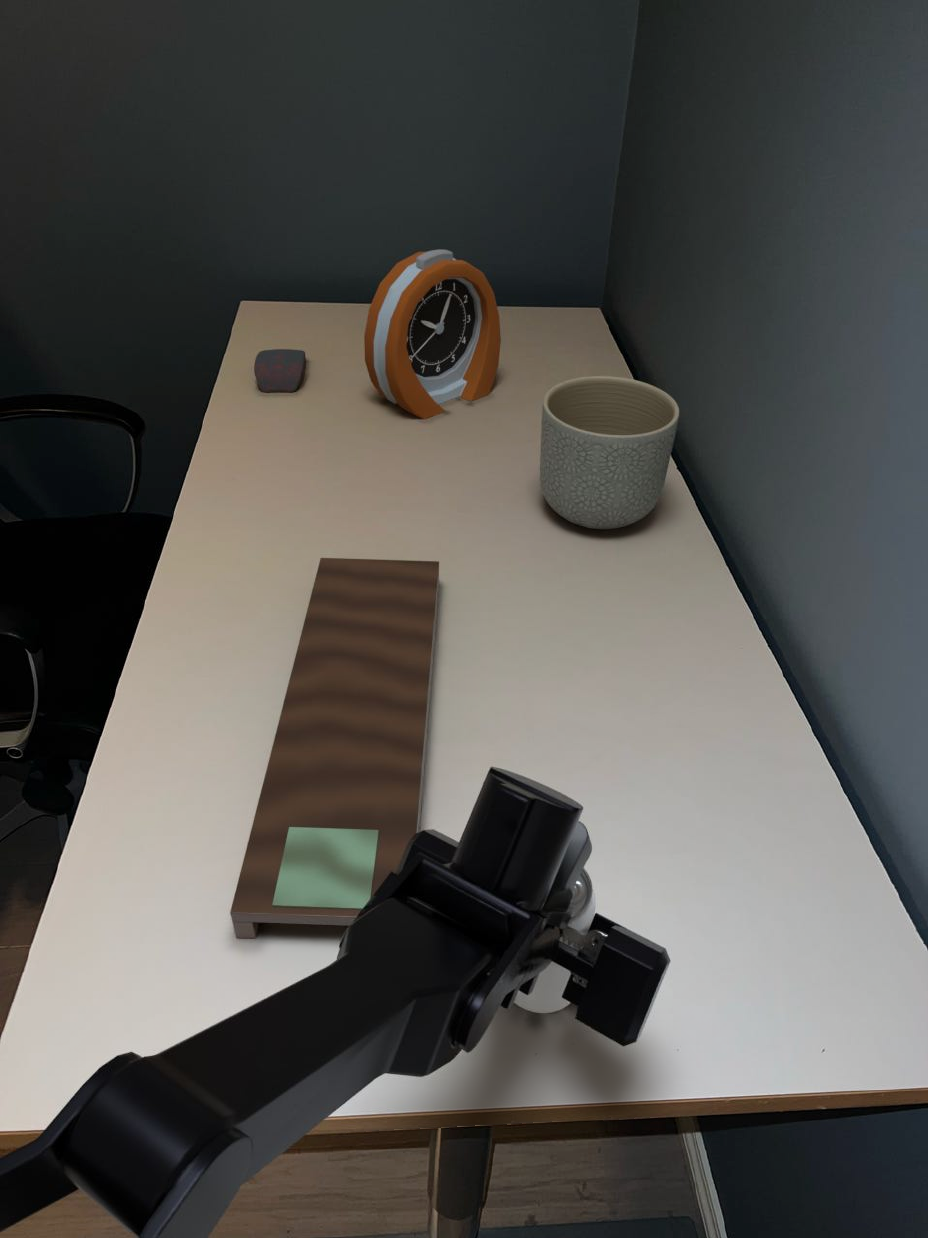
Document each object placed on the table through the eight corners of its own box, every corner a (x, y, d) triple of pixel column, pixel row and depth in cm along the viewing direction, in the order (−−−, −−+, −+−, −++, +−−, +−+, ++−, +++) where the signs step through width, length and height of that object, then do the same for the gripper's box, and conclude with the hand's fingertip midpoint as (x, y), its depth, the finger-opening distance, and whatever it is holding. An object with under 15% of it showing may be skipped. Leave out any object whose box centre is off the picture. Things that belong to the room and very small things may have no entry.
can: (577, 1023, 69) (595, 934, 61) (492, 1008, 70) (499, 917, 62) (584, 946, 74) (601, 854, 66) (504, 932, 75) (512, 840, 67)
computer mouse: (253, 392, 150) (250, 369, 147) (263, 357, 160) (260, 335, 158) (303, 392, 150) (301, 369, 148) (310, 357, 161) (308, 335, 158)
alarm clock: (404, 427, 142) (400, 278, 127) (365, 404, 147) (357, 259, 133) (508, 386, 153) (515, 246, 139) (468, 367, 159) (471, 230, 145)
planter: (591, 464, 134) (604, 364, 124) (686, 512, 124) (707, 407, 115) (508, 505, 125) (514, 400, 115) (603, 560, 115) (618, 451, 106)
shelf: (410, 944, 74) (409, 918, 71) (235, 938, 74) (229, 911, 72) (439, 584, 111) (439, 559, 108) (322, 581, 111) (320, 556, 109)
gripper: (686, 892, 51) (715, 870, 65) (405, 757, 58) (487, 763, 73) (609, 1082, 51) (656, 1017, 65) (337, 921, 58) (433, 895, 72)
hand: (554, 914), depth 69 cm, fingers closed on can, 6 cm apart
